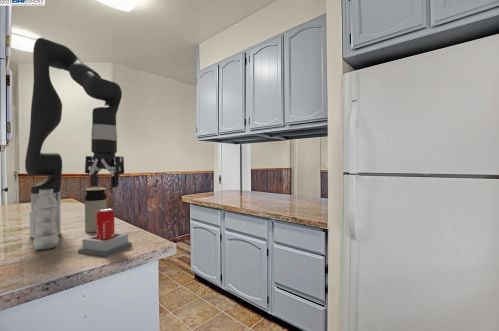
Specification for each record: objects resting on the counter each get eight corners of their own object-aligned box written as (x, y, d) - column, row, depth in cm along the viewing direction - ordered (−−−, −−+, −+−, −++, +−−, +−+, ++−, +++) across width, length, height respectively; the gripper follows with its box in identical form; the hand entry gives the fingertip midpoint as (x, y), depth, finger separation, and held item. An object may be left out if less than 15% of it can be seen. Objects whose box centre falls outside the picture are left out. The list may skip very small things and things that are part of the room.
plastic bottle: (37, 247, 88) (37, 189, 87) (61, 244, 90) (60, 188, 90) (30, 253, 82) (29, 191, 81) (55, 250, 84) (55, 190, 84)
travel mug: (102, 232, 107) (102, 189, 106) (81, 233, 105) (81, 189, 105) (109, 227, 114) (108, 187, 114) (89, 228, 113) (89, 187, 113)
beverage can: (106, 248, 83) (106, 211, 83) (93, 247, 84) (92, 210, 84) (117, 243, 88) (117, 208, 88) (104, 242, 89) (104, 208, 89)
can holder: (78, 252, 82) (78, 239, 82) (106, 242, 93) (106, 231, 92) (105, 256, 79) (105, 242, 79) (131, 245, 89) (131, 233, 89)
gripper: (78, 138, 84) (78, 187, 85) (112, 137, 80) (112, 188, 81) (97, 140, 92) (97, 185, 92) (129, 139, 88) (129, 186, 88)
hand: (104, 186), depth 86 cm, fingers open, 8 cm apart
